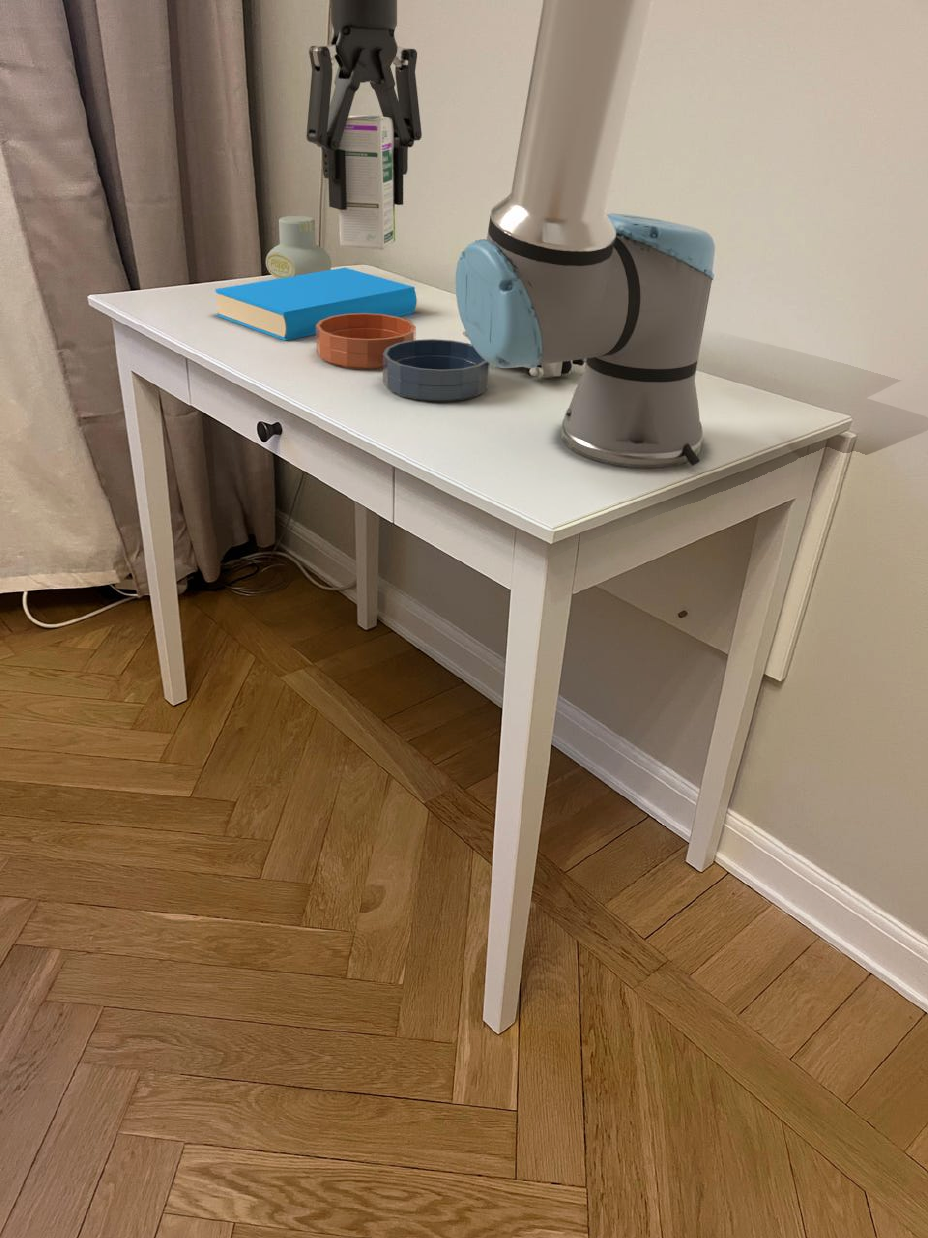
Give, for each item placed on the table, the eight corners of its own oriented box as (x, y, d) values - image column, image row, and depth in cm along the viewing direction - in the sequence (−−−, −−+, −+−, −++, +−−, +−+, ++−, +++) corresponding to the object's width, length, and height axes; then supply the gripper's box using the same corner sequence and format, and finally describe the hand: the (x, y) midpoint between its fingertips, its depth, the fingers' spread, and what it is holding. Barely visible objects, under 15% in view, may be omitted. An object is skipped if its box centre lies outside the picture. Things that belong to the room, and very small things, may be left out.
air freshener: (259, 278, 167) (255, 216, 162) (296, 272, 173) (293, 211, 168) (303, 290, 162) (300, 226, 156) (339, 283, 167) (338, 220, 162)
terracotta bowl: (434, 360, 132) (435, 330, 130) (354, 376, 125) (353, 345, 123) (377, 337, 140) (377, 308, 138) (299, 351, 133) (297, 321, 131)
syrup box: (383, 250, 122) (383, 119, 114) (337, 246, 123) (334, 116, 115) (395, 242, 127) (395, 116, 119) (351, 239, 128) (349, 113, 120)
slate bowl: (509, 390, 122) (511, 359, 120) (427, 410, 115) (427, 377, 113) (443, 364, 131) (444, 333, 129) (363, 380, 123) (362, 349, 121)
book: (213, 289, 144) (343, 264, 160) (216, 318, 146) (344, 291, 162) (287, 313, 134) (417, 284, 150) (289, 344, 137) (417, 313, 153)
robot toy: (600, 381, 130) (524, 344, 139) (605, 347, 127) (528, 312, 136) (531, 397, 123) (457, 358, 132) (535, 362, 120) (459, 324, 130)
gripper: (416, -8, 119) (414, 196, 131) (265, -18, 107) (278, 207, 119) (455, -8, 114) (450, 204, 126) (302, -18, 102) (312, 216, 114)
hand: (366, 205), depth 122 cm, fingers closed on syrup box, 8 cm apart
